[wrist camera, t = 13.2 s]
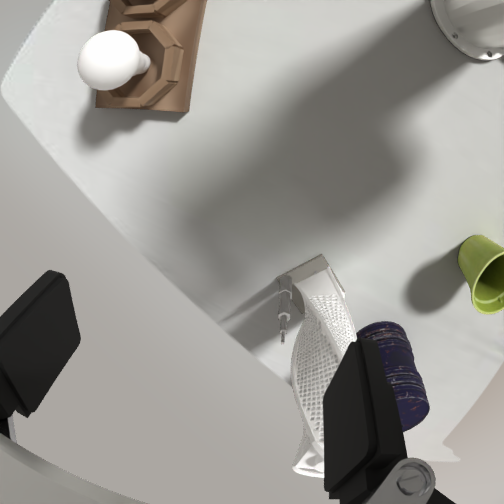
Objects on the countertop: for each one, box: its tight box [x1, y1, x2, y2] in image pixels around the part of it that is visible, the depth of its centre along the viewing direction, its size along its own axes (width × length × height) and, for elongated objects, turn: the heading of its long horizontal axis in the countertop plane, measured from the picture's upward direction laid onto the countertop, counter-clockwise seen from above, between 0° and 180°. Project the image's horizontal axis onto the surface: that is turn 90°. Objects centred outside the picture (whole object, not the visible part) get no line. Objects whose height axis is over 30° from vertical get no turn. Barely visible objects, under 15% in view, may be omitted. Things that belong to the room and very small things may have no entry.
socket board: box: [95, 0, 207, 112], centre depth 27 cm, size 12×22×5 cm, turn 171°
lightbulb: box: [77, 30, 150, 90], centre depth 26 cm, size 6×6×11 cm
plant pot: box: [458, 235, 504, 314], centre depth 34 cm, size 9×9×9 cm
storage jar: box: [356, 321, 430, 432], centre depth 41 cm, size 10×10×15 cm
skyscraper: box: [277, 254, 357, 478], centre depth 31 cm, size 8×8×28 cm
